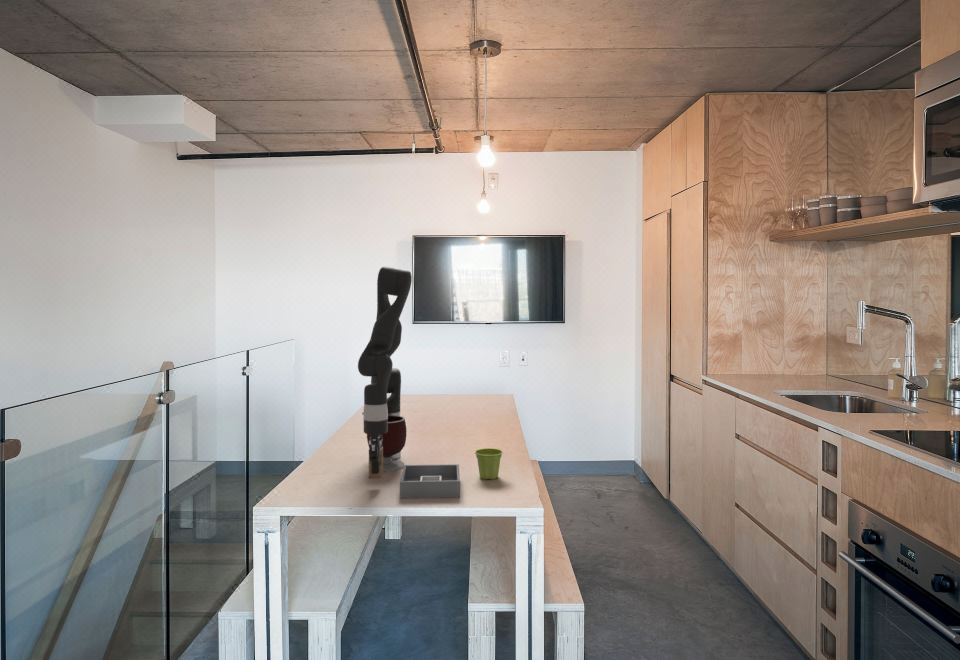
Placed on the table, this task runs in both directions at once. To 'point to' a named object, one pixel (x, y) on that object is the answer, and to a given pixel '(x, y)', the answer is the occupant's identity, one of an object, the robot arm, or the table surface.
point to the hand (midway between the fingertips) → (376, 471)
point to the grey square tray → (430, 481)
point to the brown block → (380, 474)
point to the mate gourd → (393, 442)
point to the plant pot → (488, 462)
